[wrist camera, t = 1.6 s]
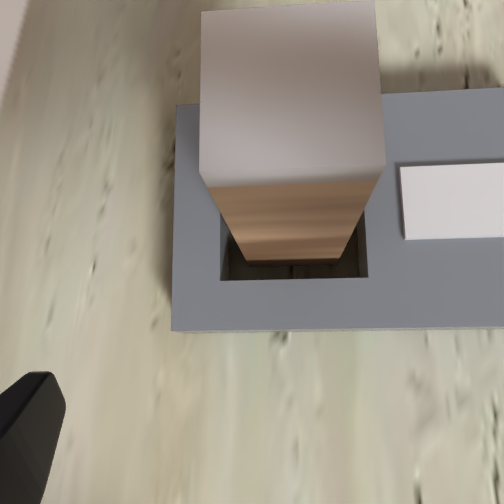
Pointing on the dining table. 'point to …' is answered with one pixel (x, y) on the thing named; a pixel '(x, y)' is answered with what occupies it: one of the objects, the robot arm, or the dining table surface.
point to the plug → (291, 126)
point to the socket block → (368, 232)
